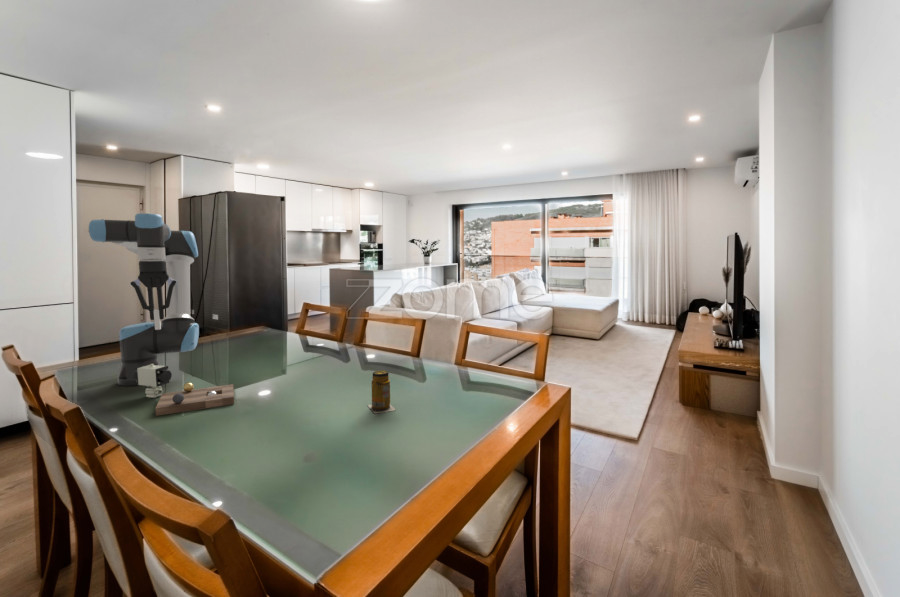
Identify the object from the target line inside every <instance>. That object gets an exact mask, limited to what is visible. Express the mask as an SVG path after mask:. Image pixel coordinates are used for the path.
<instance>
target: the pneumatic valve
mask: <svg viewBox="0 0 900 597" xmlns="http://www.w3.org/2000/svg"><path fill="white" fill-rule="evenodd" d="M134 378H135V380H137V385H136V386H146V388H145V394H146V398H151V399H155V398H157V397H161V395H162V394H163V393H164V391H163V387H162V386H164V385H166V384H169V383H170V381H171V378H172V372H171V371H170V369H169V365H161V364H160V366H159V365H154V364H150V365H145V366H142V367H138V368H136V371H135V373H134Z"/></svg>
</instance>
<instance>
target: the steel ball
mask: <svg viewBox="0 0 900 597" xmlns="http://www.w3.org/2000/svg"><path fill="white" fill-rule="evenodd" d="M210 395H217V393H216V392H215V391H211V392H209V393H208V394H207V396H210Z"/></svg>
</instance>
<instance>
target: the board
mask: <svg viewBox="0 0 900 597" xmlns="http://www.w3.org/2000/svg"><path fill="white" fill-rule="evenodd" d="M211 391H215V392H216V393H217V395H210V396H207V394H208V393H209V392H211ZM234 391H235V389H234V384H233V383H232V384H224V385H217V386H210V387H209V386H208V387H204V388H193V390H192V391H190V392H186V391H184V390H181V391H180V390H179V391H173V392H165V393H164V392H163V393H162V395H161V396H160V397H159V400H158V402H157V404H156V406H155V416H157V417H158V416H162V415H163V416H164V415H170V414H177V413H184V412H190V411H196V410H197V411H198V410H202V409H203V410H205V409H209V408H210V409H211V408H217V407H224V406H229V405H234V404H235V394H234V393H235V392H234ZM177 393H181V394H183V396H184V400H183V401H182V402H181V403H174V402H173V400H172V398H173V396H174V395H175V394H177Z"/></svg>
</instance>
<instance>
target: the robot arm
mask: <svg viewBox="0 0 900 597" xmlns="http://www.w3.org/2000/svg"><path fill="white" fill-rule="evenodd" d="M88 234H89V236H90V239H91V240H92V241H94V242H96V243H99V242H100V243H108V242H109V243H112V244H116V245H119V246H121V247H124V248H126V249H127V250H128V251H129V252H132V253H134V254H137V258H138V260H140V261H138V270H139V272H138V273H139V274H138V275H137V278H136V279H134V280H132V281H130V285H131V286H132V287H133V289H134V291H135V292H136V295H137V297H138V300H139V303H140V305H141V309H143V310H147V311H149V318H150V319H149V320H151V322H150V321H148V322H141V323H136V324H131V325H130V324H129V325H126V326H124V327H122V328H120V329H119V332H118V333H119V339H118V341H119V349H120V351H119V352H120V359H121V365H120V369H119V372H118V375H117V380H116V381H117V385H118V386H125V387H126V386H127V387H128V386H129V387H130V386H138V385H137V380H135V378H134V373H135V371H136V368H138V367H142V366H145V365H150V364H154V365H159V366H160V365H161V363H159V360H158V354H172V353H185V352H190V351H194V350H195V349H196V348H197V346H198V343H199V342H198V341H199V336H200V325H199V323H197V322H196V321H195V319H194V318H193V317H192V316H191V265H192V264H193V263H194V262H195V258H198V257H199V251H198V250H199V249H198V246H197V245H198V244H197V241H196V237H195V234H194V233H193V232H192V231H190V230H182V229H181V230H171V229H170V226H168V225H167V224H166V223H165V222H164V220H163V216H162V215H161V214H158V213H140V212H139V213H136V214H135V215H134V220H131V219H129V220H121V219H118V220H117V219H104V218H102V219H92V220H90V221H89V224H88ZM140 282H141V283H140ZM141 284H142V285H144V287H146V289H147V298H148V300H146V299H145V296H144V293H143V290H142V288H141ZM165 285H166V291H165V293H166V295H165V296H166V298H165V304H164V299H163V287H164V286H165ZM154 288H156V295H157V306H158V309H155V300H154ZM147 302H148V304H147ZM165 309H166V313H165V312H164V311H165Z"/></svg>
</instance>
